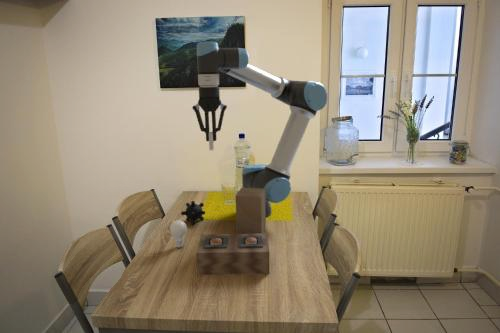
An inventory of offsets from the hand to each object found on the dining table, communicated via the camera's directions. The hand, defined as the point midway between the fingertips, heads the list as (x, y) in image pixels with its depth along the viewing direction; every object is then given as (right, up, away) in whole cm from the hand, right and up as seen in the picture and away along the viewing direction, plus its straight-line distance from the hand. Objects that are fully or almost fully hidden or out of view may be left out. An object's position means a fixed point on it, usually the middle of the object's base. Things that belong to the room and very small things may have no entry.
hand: (211, 149), depth 142 cm
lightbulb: (-12, -38, +1) cm, 40 cm away
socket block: (+9, -41, -11) cm, 43 cm away
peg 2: (+15, -40, -11) cm, 44 cm away
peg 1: (+3, -40, -11) cm, 42 cm away
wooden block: (+15, -36, +7) cm, 40 cm away
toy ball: (-11, -31, +25) cm, 41 cm away
